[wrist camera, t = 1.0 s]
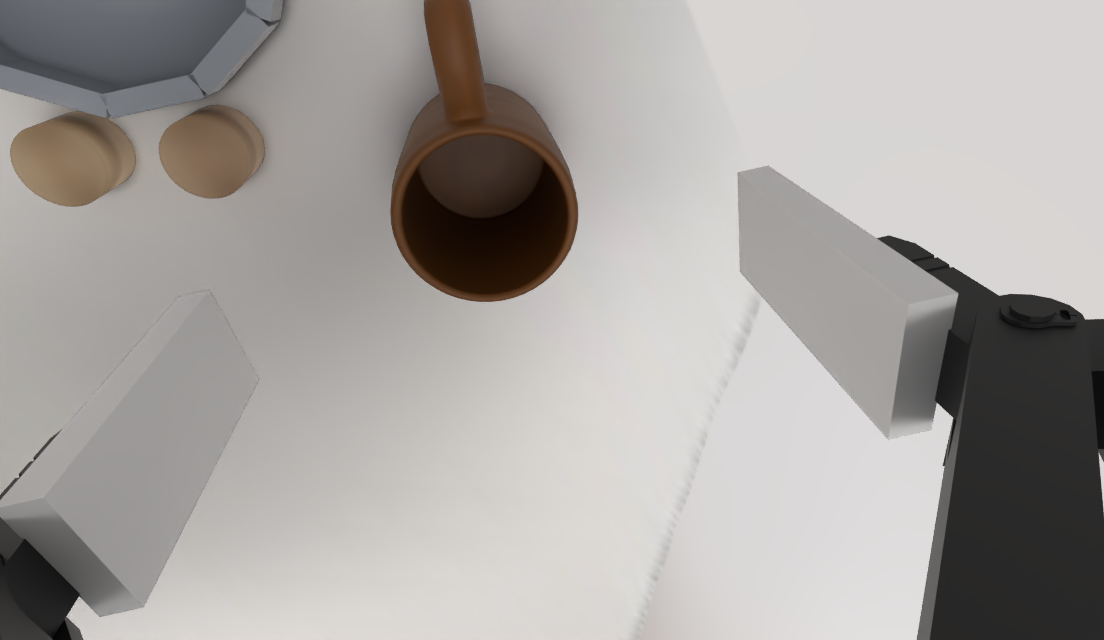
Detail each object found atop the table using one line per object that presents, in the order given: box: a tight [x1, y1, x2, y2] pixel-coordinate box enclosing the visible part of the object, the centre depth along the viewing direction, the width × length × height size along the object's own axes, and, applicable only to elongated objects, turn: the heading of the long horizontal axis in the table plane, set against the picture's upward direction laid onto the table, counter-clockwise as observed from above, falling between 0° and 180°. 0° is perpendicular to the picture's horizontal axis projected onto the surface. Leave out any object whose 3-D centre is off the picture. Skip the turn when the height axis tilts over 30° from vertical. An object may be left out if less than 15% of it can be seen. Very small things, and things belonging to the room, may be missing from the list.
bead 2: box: [159, 105, 265, 198], centre depth 28 cm, size 4×4×3 cm
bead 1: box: [10, 111, 136, 207], centre depth 28 cm, size 4×4×3 cm
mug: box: [391, 0, 578, 302], centre depth 26 cm, size 12×8×9 cm, turn 7°
